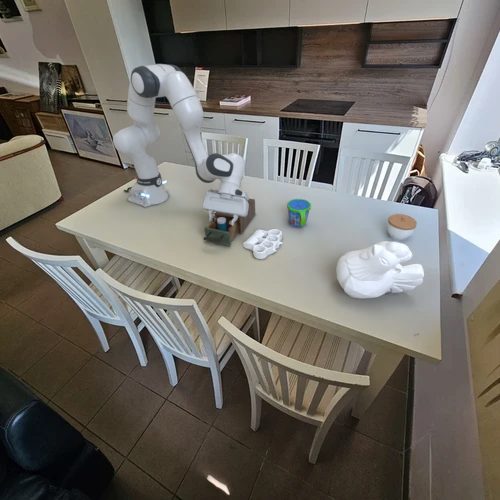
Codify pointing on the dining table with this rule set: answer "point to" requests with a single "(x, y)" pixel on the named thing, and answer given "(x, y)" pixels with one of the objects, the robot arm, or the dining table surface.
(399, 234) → the trinket box
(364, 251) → the decorative rooster
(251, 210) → the cabinet
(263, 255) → the white brass knuckles
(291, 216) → the snack cup
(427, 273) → the dining table surface
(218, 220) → the salt shaker
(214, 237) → the drawer
